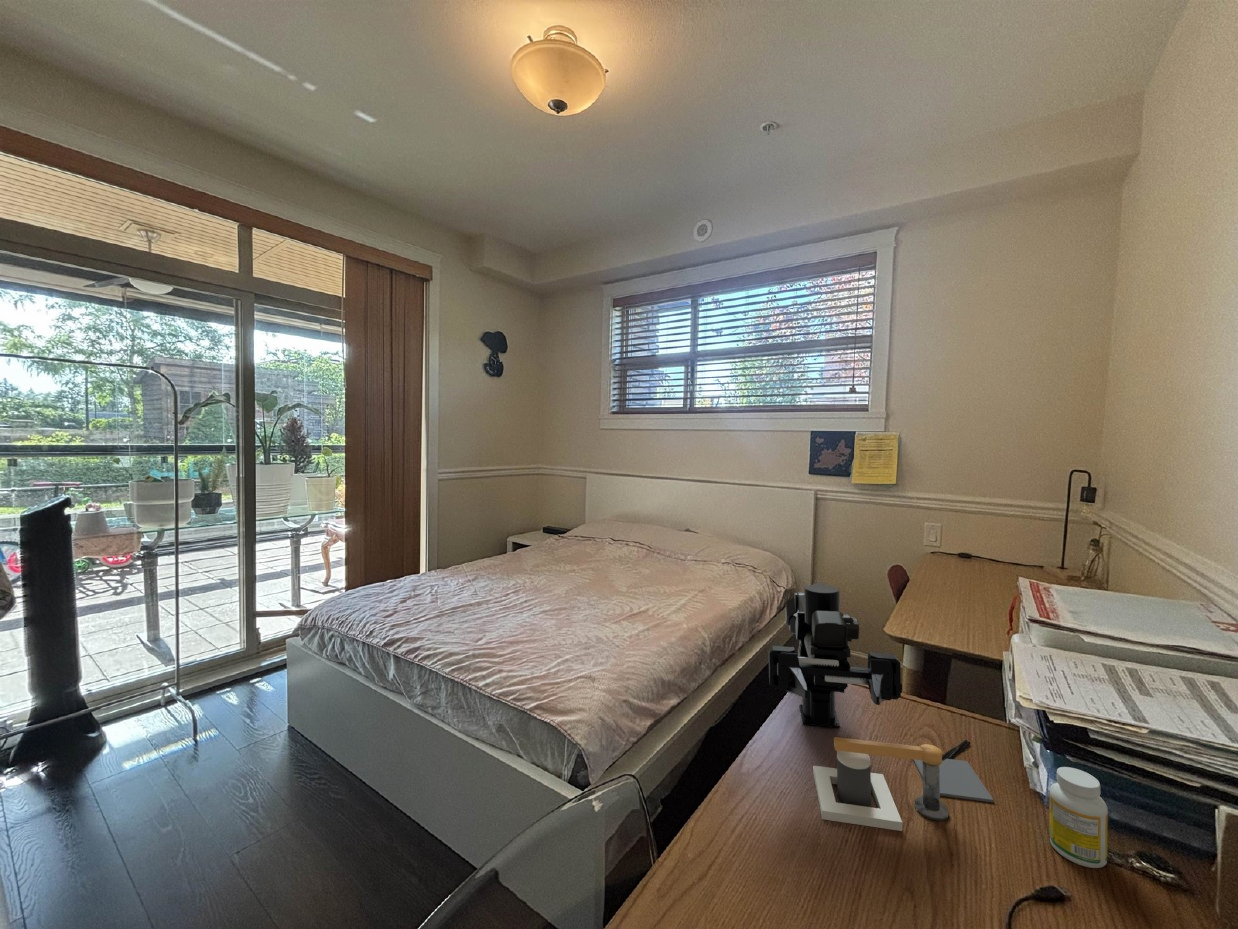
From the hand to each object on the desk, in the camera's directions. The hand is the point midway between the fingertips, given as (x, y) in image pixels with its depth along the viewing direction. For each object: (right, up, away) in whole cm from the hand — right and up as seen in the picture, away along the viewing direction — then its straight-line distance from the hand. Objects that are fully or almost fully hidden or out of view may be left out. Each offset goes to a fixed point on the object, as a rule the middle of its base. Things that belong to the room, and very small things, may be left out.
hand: (841, 698), depth 69 cm
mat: (+20, -16, +7) cm, 26 cm away
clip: (+7, -9, +2) cm, 12 cm away
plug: (+3, -16, +3) cm, 17 cm away
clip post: (+13, -16, +1) cm, 21 cm away
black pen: (+23, -16, +13) cm, 31 cm away
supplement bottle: (+26, -16, -7) cm, 32 cm away
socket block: (+3, -16, +3) cm, 17 cm away
